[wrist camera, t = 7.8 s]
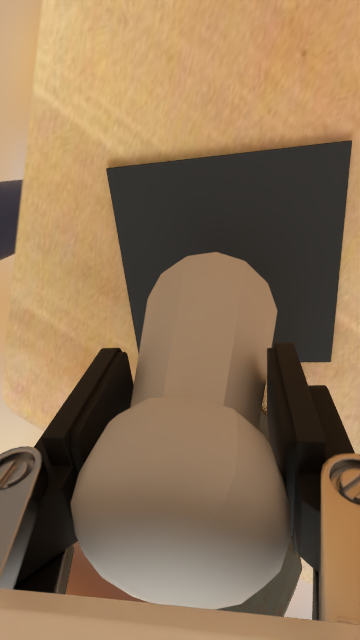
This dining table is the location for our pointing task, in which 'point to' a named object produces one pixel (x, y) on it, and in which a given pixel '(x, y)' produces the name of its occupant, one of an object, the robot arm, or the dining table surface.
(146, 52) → the dining table surface
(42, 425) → the dining table surface
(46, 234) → the dining table surface
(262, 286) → the salt shaker
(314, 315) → the mat
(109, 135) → the dining table surface
